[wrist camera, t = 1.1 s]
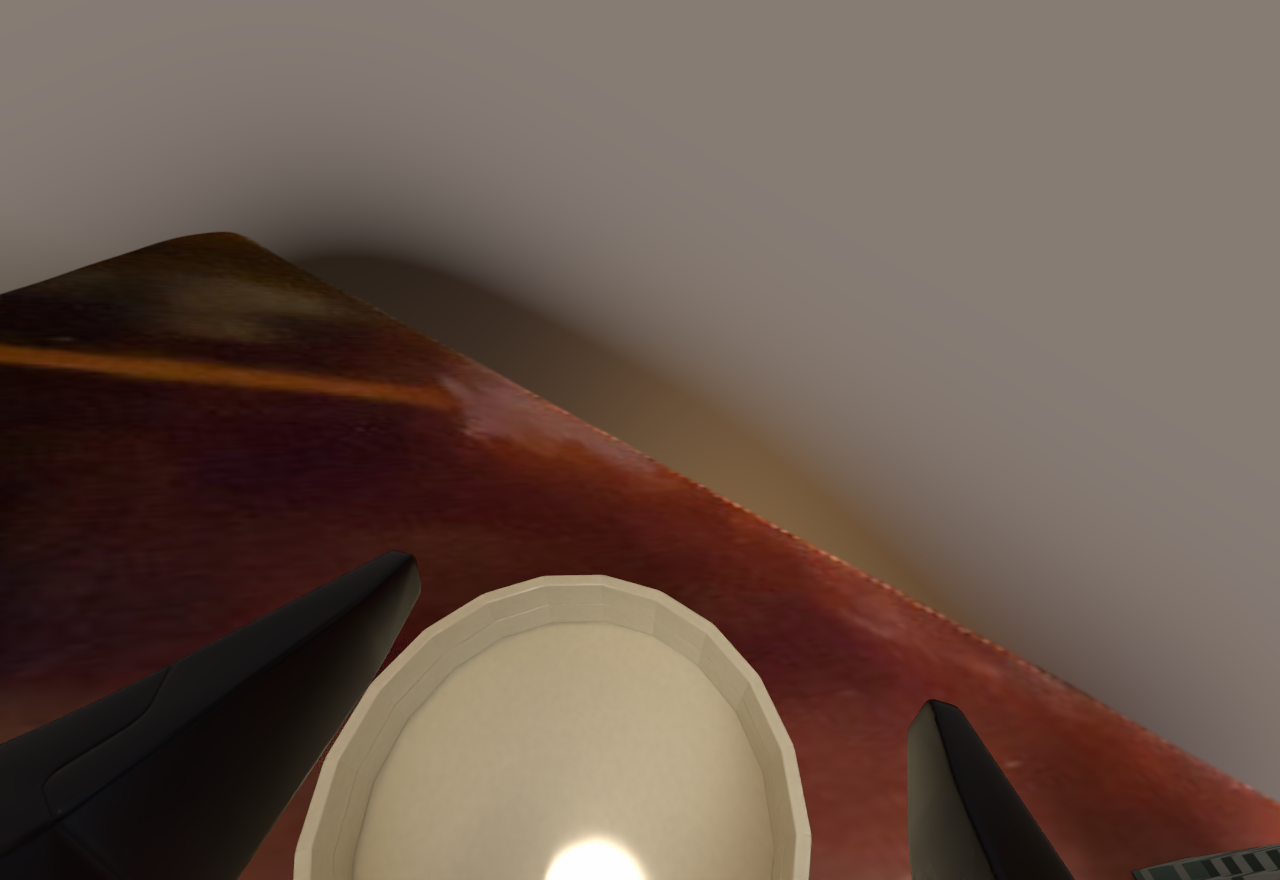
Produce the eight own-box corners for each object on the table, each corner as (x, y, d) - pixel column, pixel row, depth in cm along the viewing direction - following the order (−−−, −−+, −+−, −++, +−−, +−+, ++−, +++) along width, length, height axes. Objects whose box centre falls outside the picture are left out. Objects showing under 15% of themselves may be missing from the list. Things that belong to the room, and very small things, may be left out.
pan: (834, 1145, 16) (881, 1191, 13) (260, 1174, 15) (172, 1228, 12) (745, 613, 26) (760, 571, 24) (410, 619, 26) (382, 577, 23)
